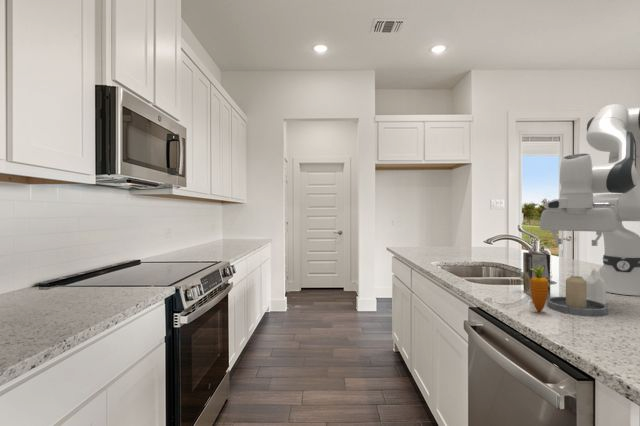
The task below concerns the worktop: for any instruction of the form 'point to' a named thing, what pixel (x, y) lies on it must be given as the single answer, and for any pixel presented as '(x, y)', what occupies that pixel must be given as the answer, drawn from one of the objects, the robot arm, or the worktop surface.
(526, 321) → the worktop surface
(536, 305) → the carrot
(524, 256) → the coffee box
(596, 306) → the dish
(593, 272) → the white plastic bottle
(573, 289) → the candle
